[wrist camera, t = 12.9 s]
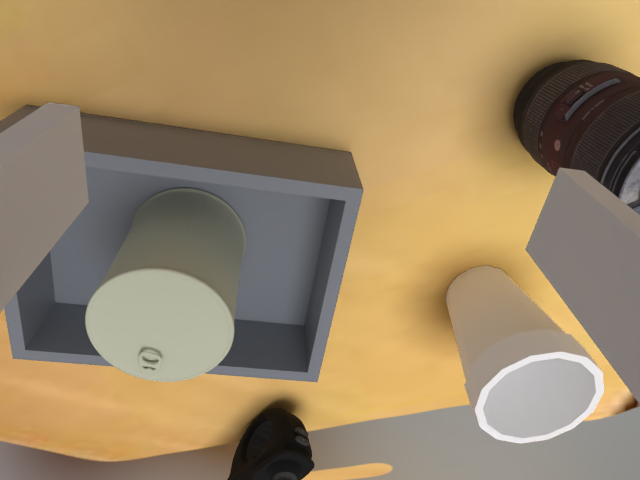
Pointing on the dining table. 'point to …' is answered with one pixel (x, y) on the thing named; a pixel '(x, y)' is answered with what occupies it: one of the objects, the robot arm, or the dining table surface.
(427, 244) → the dining table surface
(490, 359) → the foam cup
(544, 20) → the dining table surface
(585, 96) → the camera lens
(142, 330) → the can
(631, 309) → the robot arm
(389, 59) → the dining table surface
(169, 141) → the box
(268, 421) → the controller
